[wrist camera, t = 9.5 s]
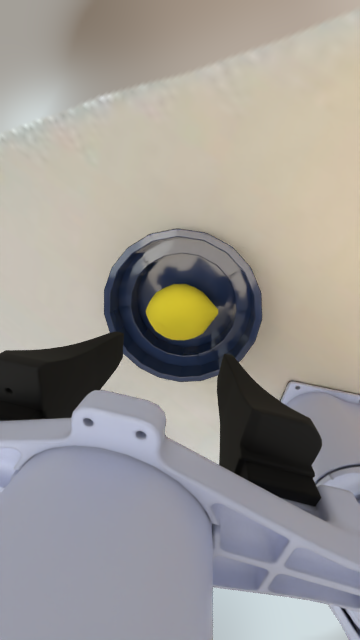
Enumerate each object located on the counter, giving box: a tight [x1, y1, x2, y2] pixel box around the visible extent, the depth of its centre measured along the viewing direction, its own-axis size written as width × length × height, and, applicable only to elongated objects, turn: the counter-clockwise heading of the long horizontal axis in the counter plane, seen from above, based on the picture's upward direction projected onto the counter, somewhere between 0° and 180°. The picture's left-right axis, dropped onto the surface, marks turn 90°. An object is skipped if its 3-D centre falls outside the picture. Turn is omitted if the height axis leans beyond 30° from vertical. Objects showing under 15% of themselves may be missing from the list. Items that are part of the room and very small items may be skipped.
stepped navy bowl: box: [104, 229, 262, 382], centre depth 20 cm, size 14×14×4 cm
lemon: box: [146, 284, 218, 340], centre depth 19 cm, size 7×5×5 cm
